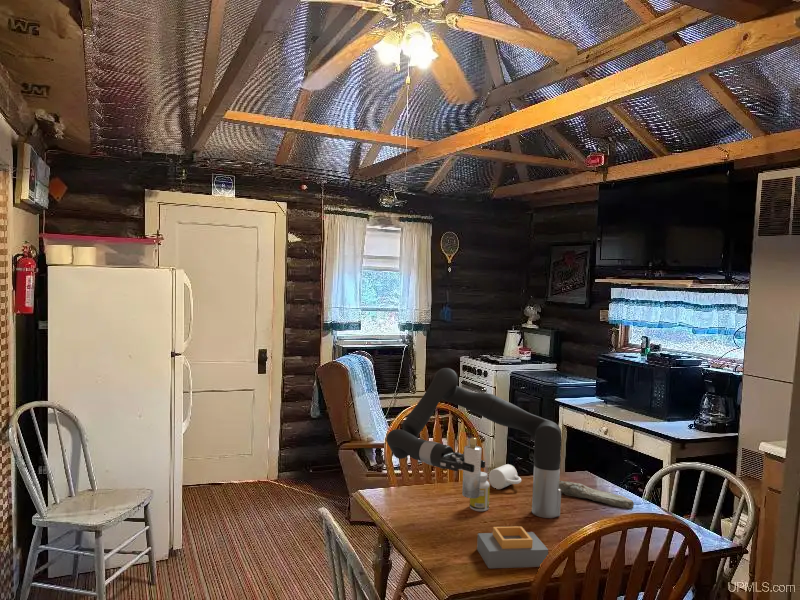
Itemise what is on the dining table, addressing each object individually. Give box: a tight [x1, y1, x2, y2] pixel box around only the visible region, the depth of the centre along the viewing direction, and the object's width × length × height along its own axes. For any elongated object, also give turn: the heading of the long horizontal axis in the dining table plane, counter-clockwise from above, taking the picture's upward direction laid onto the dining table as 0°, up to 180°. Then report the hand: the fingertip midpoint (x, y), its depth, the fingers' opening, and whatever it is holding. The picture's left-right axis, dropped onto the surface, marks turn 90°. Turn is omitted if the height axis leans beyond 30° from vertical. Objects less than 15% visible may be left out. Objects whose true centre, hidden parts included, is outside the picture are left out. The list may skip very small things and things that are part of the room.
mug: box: [488, 463, 522, 490], centre depth 234 cm, size 12×10×8 cm
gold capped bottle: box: [461, 436, 483, 499], centre depth 179 cm, size 5×5×18 cm
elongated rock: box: [559, 480, 635, 509], centre depth 227 cm, size 35×5×10 cm
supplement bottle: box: [469, 471, 491, 512], centre depth 210 cm, size 7×7×13 cm
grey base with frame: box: [476, 525, 549, 569], centre depth 173 cm, size 18×14×8 cm
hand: (479, 466), depth 177 cm, fingers closed on gold capped bottle, 5 cm apart
